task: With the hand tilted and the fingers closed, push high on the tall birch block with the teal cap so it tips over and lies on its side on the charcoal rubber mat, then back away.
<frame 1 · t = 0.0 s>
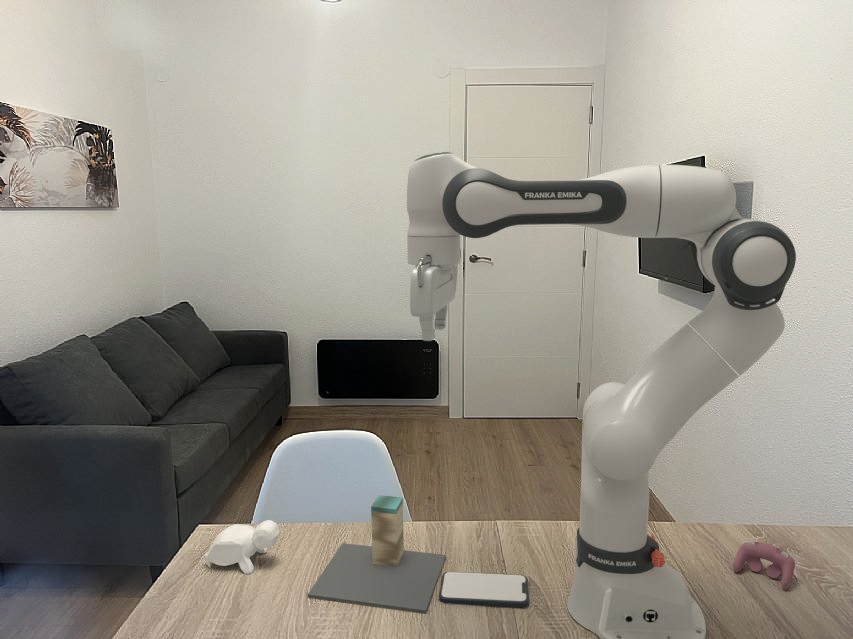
hand: (434, 334, 108), 48 cm above the table, tool pointing down, fingers open, 8 cm apart
smartphone: (484, 594, 116), on the table
video game controller: (762, 577, 120), on the table
birch block: (388, 558, 126), point 1 cm above the table, touching rubber mat
white tortoise figurine: (245, 562, 126), on the table
rubber mat: (380, 576, 121), on the table
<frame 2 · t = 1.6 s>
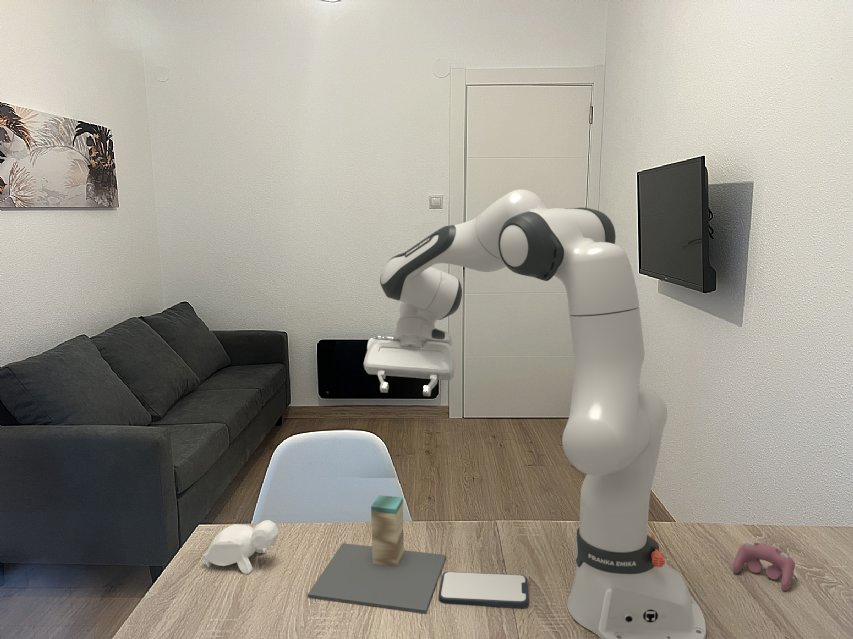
hand: (404, 393, 137), 30 cm above the table, tool tilted 45°, fingers open, 8 cm apart
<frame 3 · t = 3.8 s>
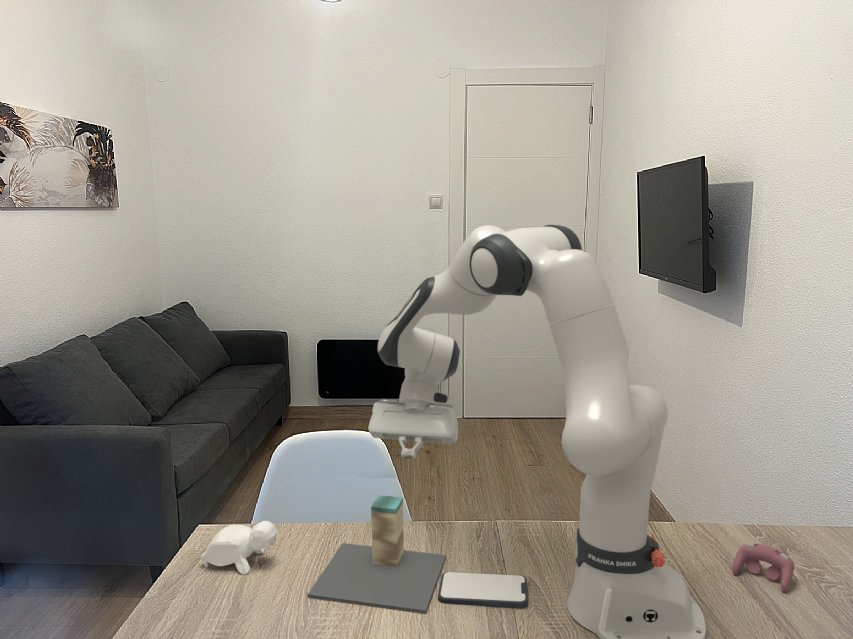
hand: (407, 457, 138), 15 cm above the table, tool tilted 45°, fingers closed
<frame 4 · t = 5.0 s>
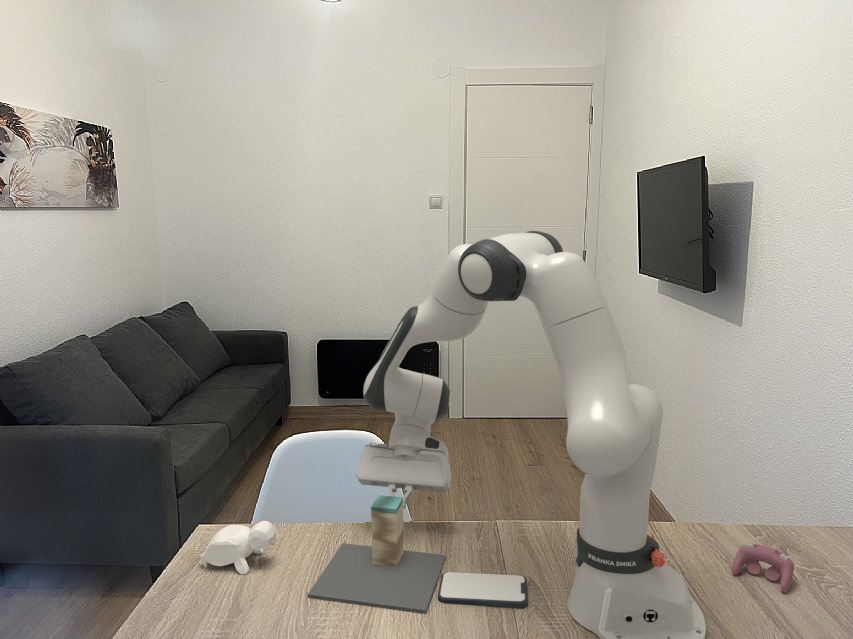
hand: (397, 507, 131), 8 cm above the table, tool tilted 45°, fingers closed
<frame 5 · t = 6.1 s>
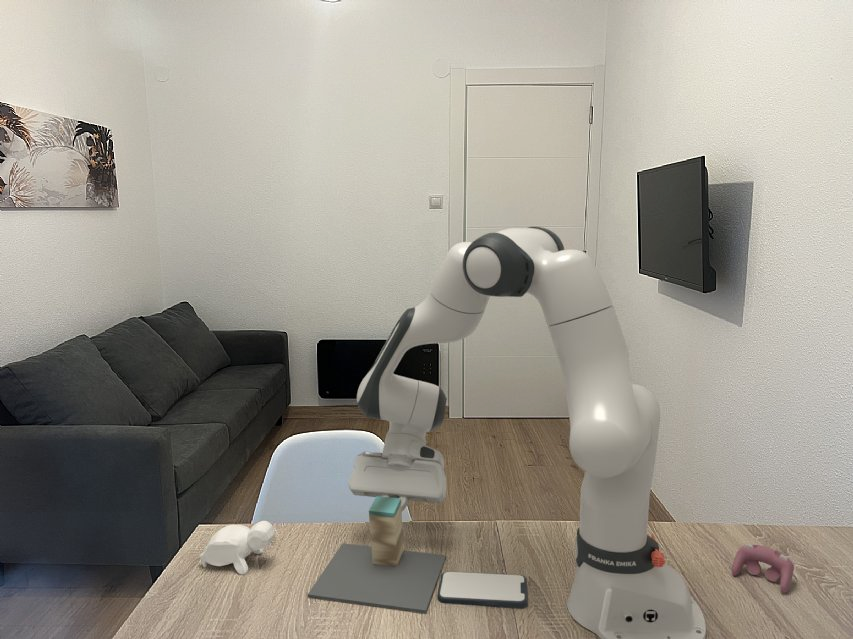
hand: (391, 519, 127), 8 cm above the table, tool tilted 45°, fingers closed
birch block: (388, 556, 126), point 1 cm above the table, tilted 7°, touching rubber mat
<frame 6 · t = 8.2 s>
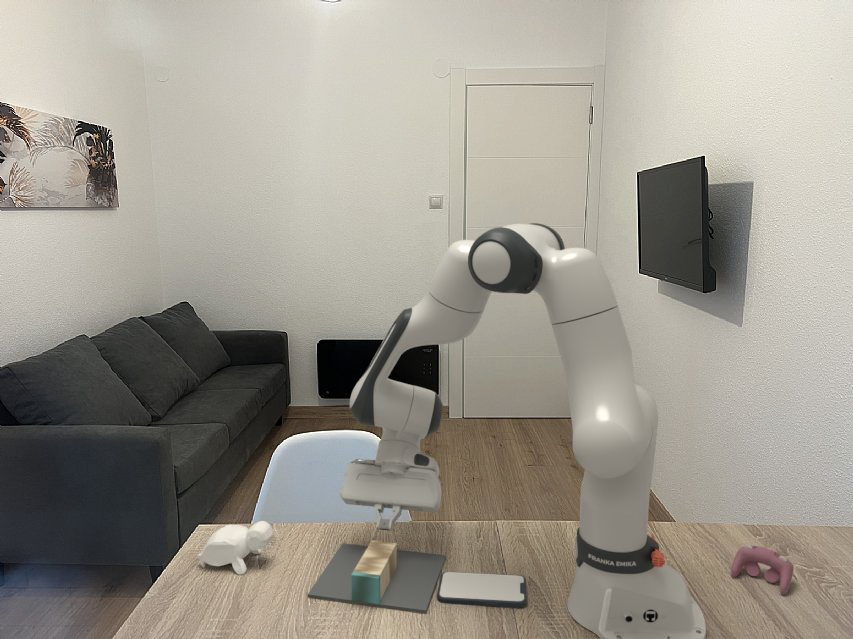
hand: (384, 529, 122), 8 cm above the table, tool tilted 45°, fingers closed
birch block: (384, 553, 123), point 3 cm above the table, tilted 90°, touching rubber mat
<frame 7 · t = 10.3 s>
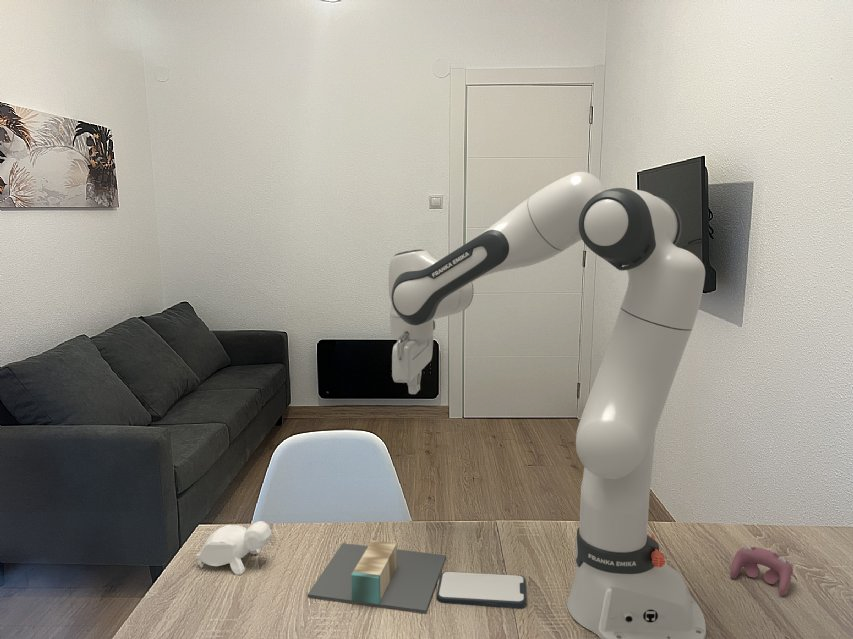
hand: (414, 392, 134), 31 cm above the table, tool pointing down, fingers closed
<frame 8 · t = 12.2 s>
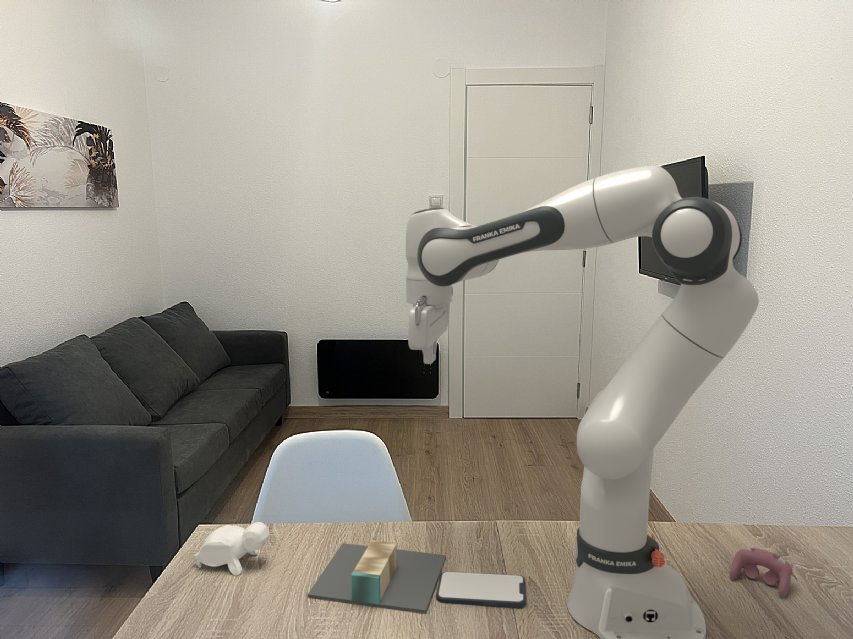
hand: (429, 362, 125), 39 cm above the table, tool pointing down, fingers closed
at the end: birch block tilted 90°; birch block inside the target area on the rubber mat (3.0 cm from its centre), point 3.1 cm above the rubber mat's base; birch block touching rubber mat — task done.
